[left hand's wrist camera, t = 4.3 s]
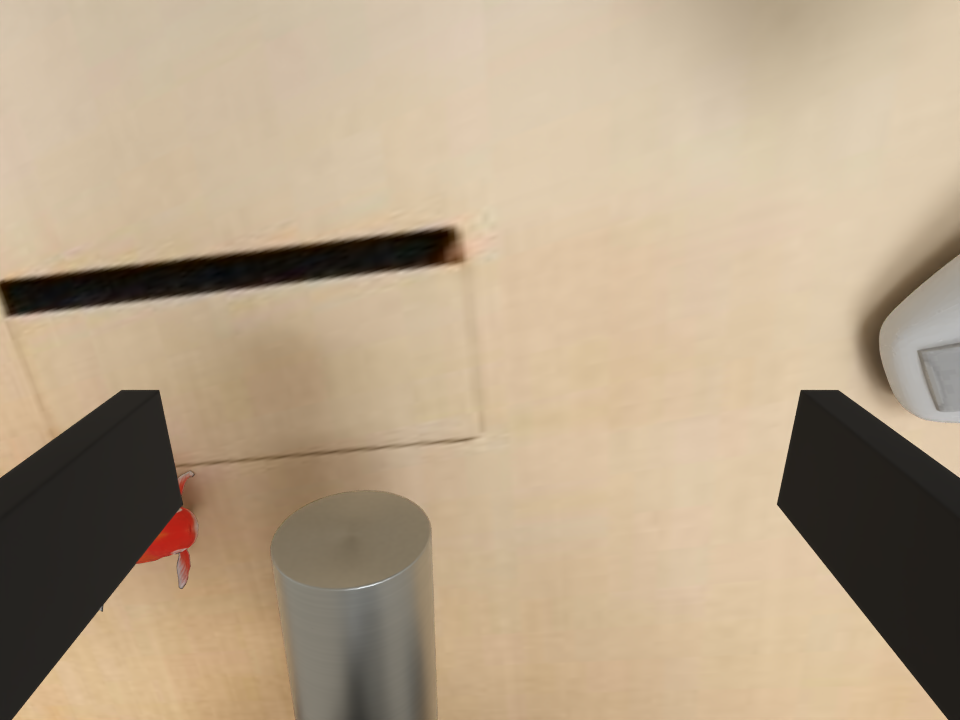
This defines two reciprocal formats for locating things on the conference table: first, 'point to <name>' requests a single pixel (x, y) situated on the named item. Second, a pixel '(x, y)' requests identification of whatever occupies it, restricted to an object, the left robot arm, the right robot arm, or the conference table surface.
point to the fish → (175, 538)
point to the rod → (358, 608)
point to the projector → (926, 347)
